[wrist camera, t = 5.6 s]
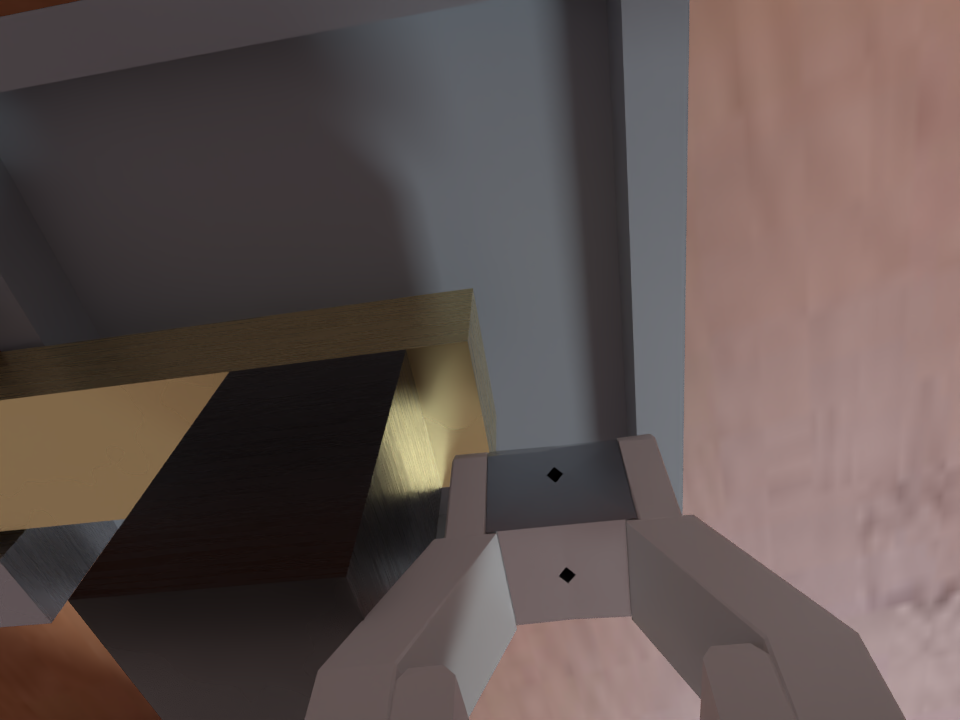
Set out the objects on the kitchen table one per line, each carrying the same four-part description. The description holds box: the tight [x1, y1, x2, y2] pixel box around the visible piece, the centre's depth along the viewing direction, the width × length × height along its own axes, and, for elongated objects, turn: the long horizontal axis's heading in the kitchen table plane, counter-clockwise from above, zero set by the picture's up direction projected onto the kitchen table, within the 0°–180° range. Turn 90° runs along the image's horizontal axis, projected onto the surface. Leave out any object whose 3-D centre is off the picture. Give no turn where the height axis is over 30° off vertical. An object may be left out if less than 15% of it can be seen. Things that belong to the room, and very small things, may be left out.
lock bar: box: [0, 288, 497, 720], centre depth 10 cm, size 14×3×6 cm, turn 99°
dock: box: [0, 0, 689, 539], centre depth 14 cm, size 14×14×2 cm
